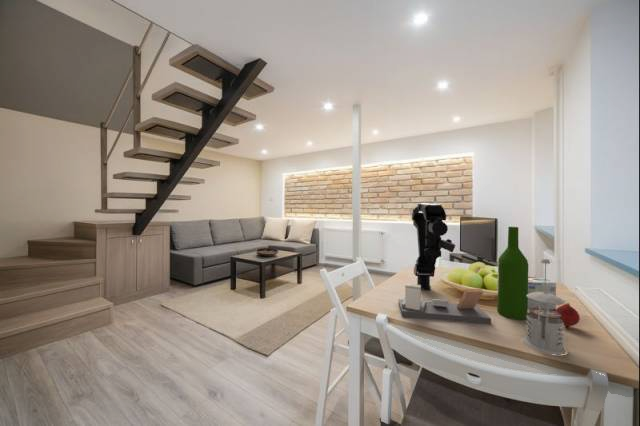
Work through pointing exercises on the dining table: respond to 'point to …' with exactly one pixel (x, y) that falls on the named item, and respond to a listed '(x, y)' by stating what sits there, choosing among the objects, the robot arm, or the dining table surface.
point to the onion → (568, 315)
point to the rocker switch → (440, 302)
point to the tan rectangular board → (470, 298)
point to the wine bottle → (512, 280)
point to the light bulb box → (539, 286)
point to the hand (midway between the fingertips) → (432, 269)
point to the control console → (445, 312)
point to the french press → (544, 323)
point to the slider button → (413, 296)
